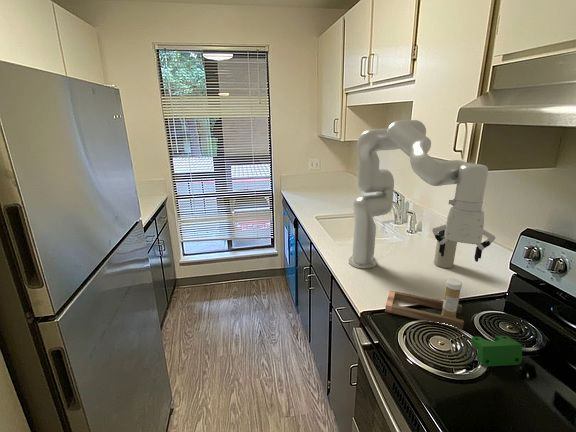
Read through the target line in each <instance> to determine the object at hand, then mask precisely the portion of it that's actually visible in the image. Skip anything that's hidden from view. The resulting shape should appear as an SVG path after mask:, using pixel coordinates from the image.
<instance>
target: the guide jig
mask: <svg viewBox="0 0 576 432" xmlns="http://www.w3.org/2000/svg"><path fill="white" fill-rule="evenodd" d="M395 300H396V301H401V302H405V303H410V304H416V305H418V306H420V305H421V306H425V307H429V308H433V309H439V310H442V309H443V301H444V300H441V299H436V298H430V297H427V296H426V297H425V296H421V295H416V294H415V295H414V294H411V293H406V292H400V291H396V290H389V292H388V296H387V299H386V302H385V309H384V312H386V313H389V314H394V315H399V316H402V317H403V316H404V317H406V318H407V317H408V318H411V319H416V320H420V321H425V322H429V321H431V322H430V323H433V322H439V323H445V324H448V325H452V326H454V327H453V328H455V327H457V328H456V329H461V330H463V329H464V324H465V320H464V319H460V318H457V317H456V318H452V317H448V316H443V315H441V314H438V313H434V312H429V311H425V310H419V309H415V308H410V307H405V306H402V305H397V304H394V303H395ZM462 309H463V305H462V304H460V303H458V307H457V311H456V314H457V313H458V314H462Z"/></svg>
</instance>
